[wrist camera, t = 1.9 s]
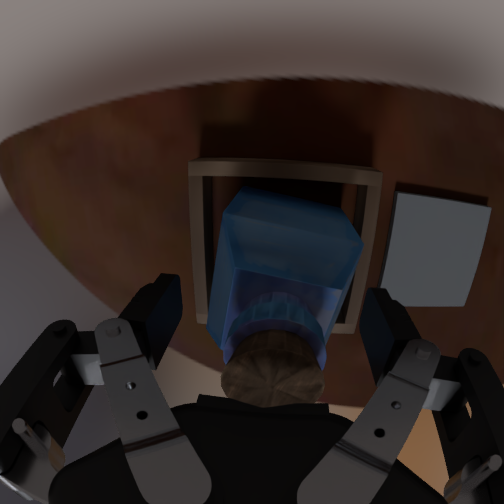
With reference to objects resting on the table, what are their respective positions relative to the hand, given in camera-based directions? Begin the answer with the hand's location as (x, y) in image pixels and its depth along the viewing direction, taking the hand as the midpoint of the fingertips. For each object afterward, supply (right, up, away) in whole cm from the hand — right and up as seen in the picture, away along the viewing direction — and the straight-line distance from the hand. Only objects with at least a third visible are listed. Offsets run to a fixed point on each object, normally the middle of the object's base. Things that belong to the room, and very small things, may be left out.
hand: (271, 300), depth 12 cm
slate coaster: (+12, +2, +6) cm, 14 cm away
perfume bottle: (+1, +3, +7) cm, 8 cm away
